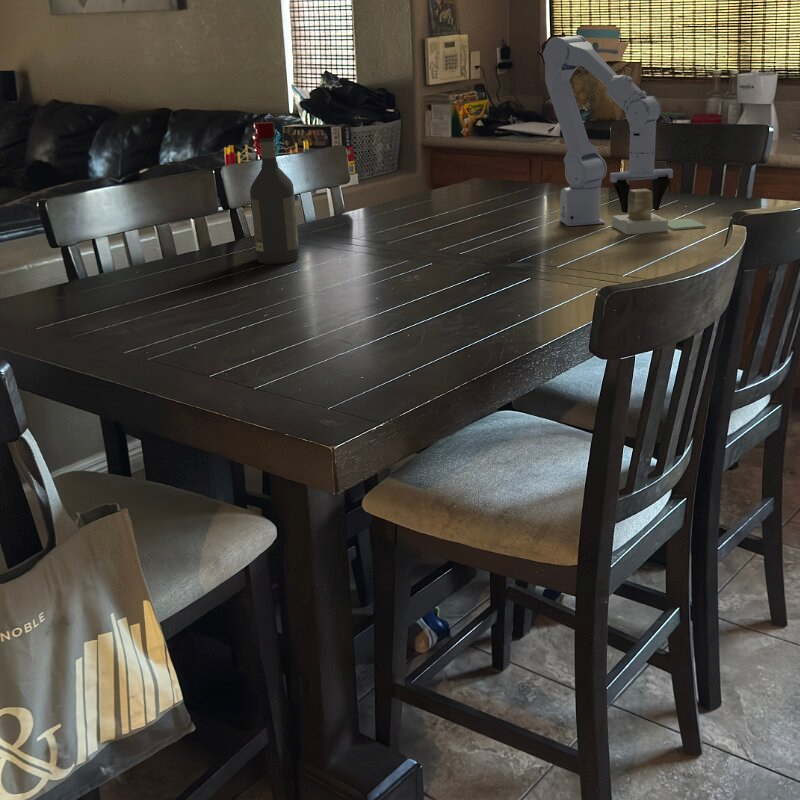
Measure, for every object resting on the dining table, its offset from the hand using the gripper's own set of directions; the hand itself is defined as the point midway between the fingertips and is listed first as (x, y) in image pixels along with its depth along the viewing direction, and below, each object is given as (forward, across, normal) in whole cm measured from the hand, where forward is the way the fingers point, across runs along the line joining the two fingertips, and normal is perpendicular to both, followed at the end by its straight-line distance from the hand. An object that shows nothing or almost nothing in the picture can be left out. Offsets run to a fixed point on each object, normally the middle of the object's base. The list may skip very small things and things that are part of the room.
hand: (640, 210), depth 233 cm
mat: (+4, +10, 0) cm, 11 cm away
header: (+4, 0, 0) cm, 4 cm away
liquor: (+4, -86, -2) cm, 86 cm away
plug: (+4, 0, 0) cm, 4 cm away
